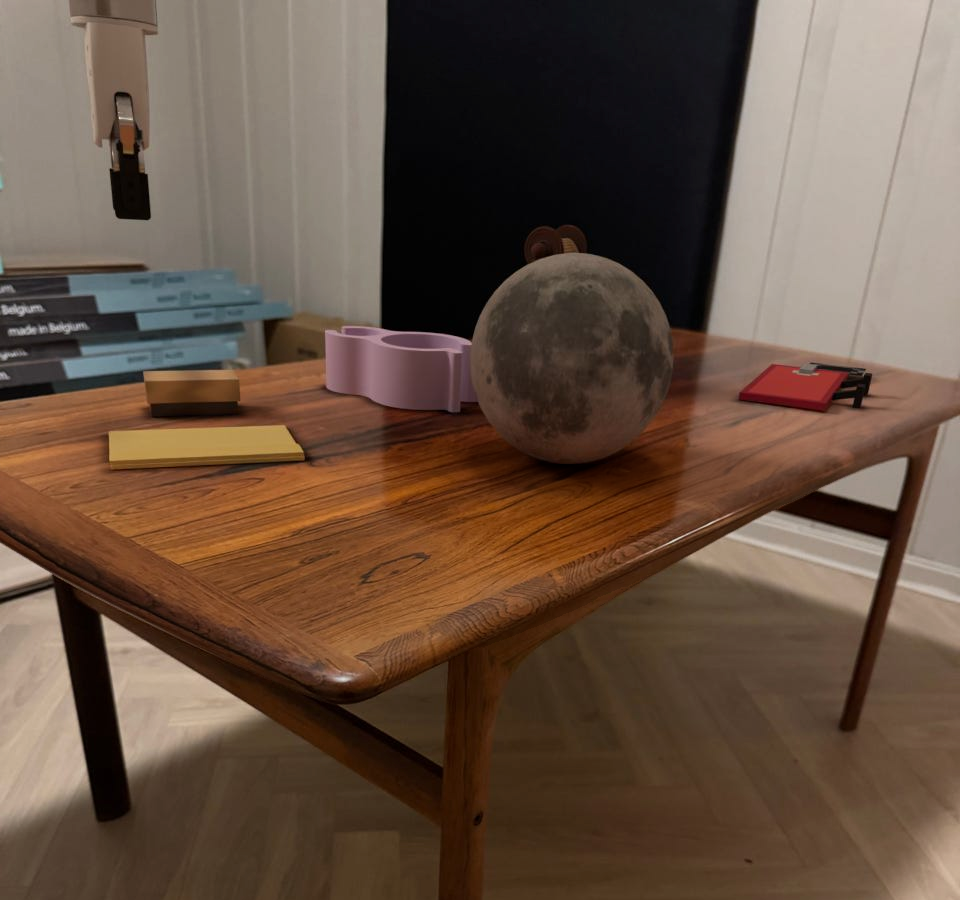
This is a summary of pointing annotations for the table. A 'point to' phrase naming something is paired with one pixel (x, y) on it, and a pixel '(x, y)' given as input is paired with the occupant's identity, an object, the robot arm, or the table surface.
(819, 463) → the table surface
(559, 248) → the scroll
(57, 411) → the table surface
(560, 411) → the moon model
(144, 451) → the flat yellow board
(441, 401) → the pink curved hollow block
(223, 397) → the brush
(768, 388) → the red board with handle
